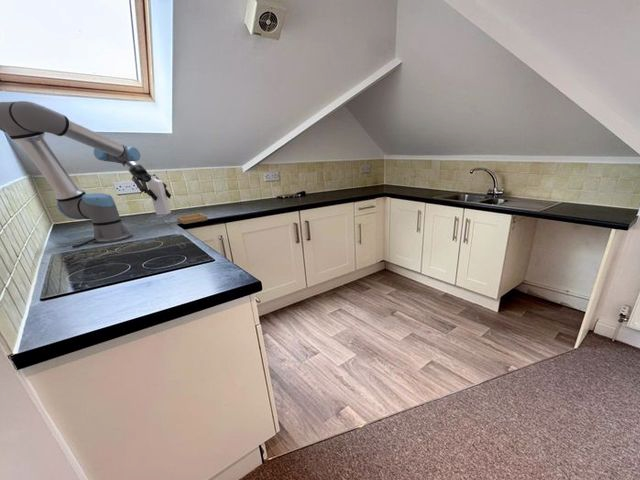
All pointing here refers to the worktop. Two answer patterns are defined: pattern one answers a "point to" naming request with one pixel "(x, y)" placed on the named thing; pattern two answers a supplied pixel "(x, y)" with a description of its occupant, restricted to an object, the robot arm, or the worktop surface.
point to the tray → (192, 218)
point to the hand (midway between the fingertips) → (163, 197)
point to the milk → (159, 196)
